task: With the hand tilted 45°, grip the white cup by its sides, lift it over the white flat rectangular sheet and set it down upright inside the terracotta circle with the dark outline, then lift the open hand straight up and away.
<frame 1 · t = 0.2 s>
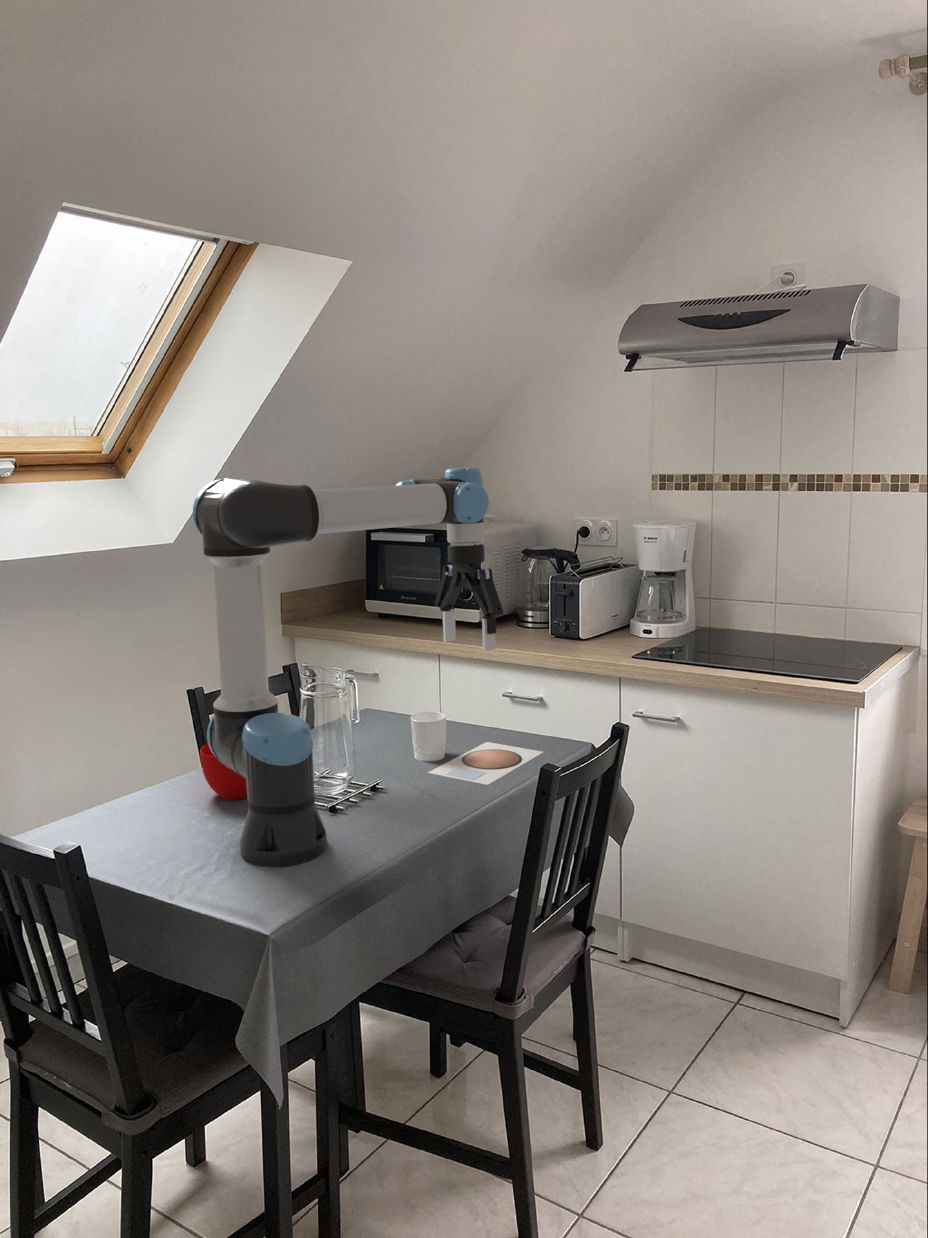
hand: (469, 645, 212), 28 cm above the table, tool pointing down, fingers open, 13 cm apart
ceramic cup: (244, 792, 209), on the table
white flat rectangular sheet: (487, 765, 222), on the table
white cup: (429, 760, 226), on the table
circle mark: (491, 759, 223), resting on white flat rectangular sheet
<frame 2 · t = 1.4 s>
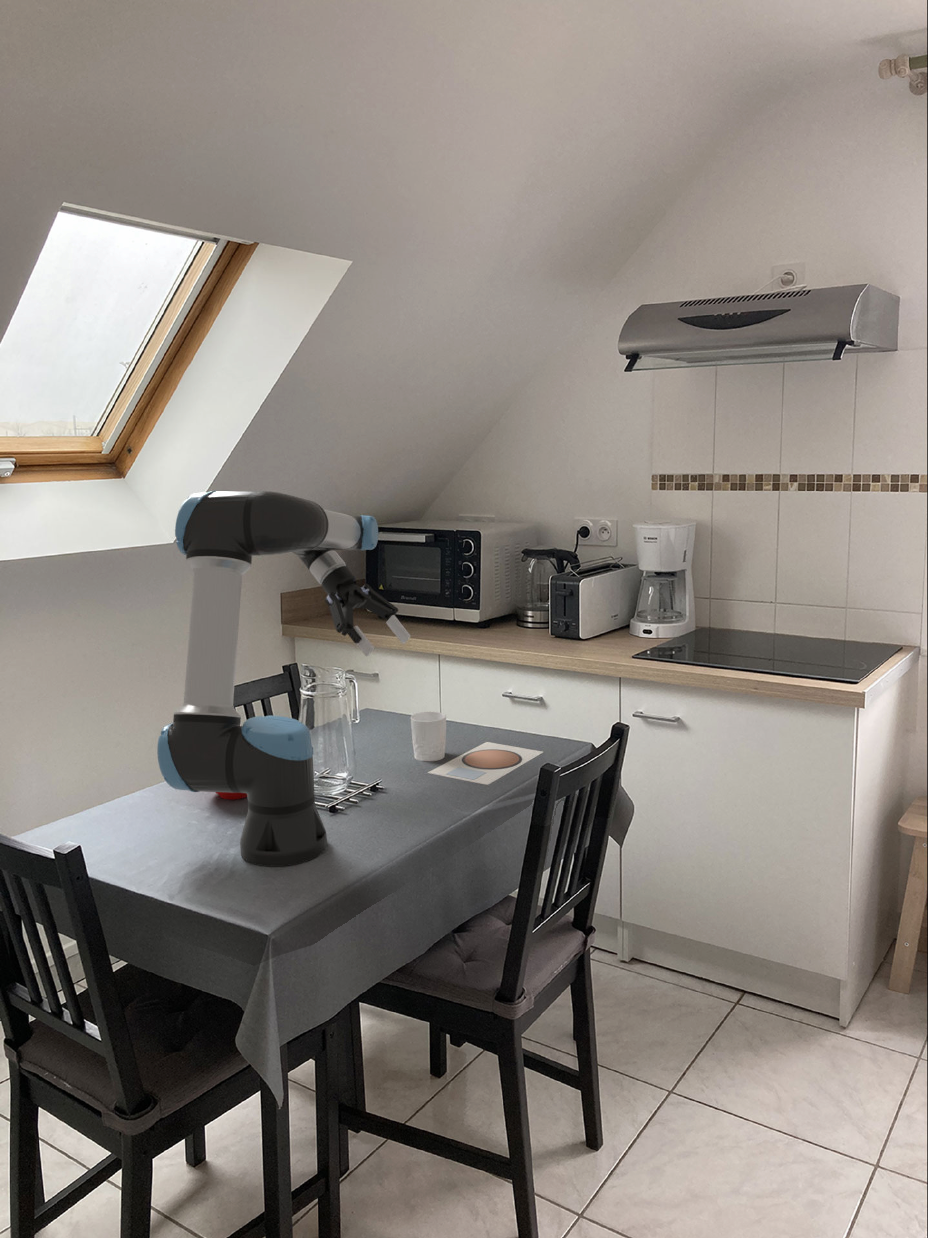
hand: (389, 646, 227), 25 cm above the table, tool tilted 45°, fingers open, 13 cm apart
nothing on the table moved.
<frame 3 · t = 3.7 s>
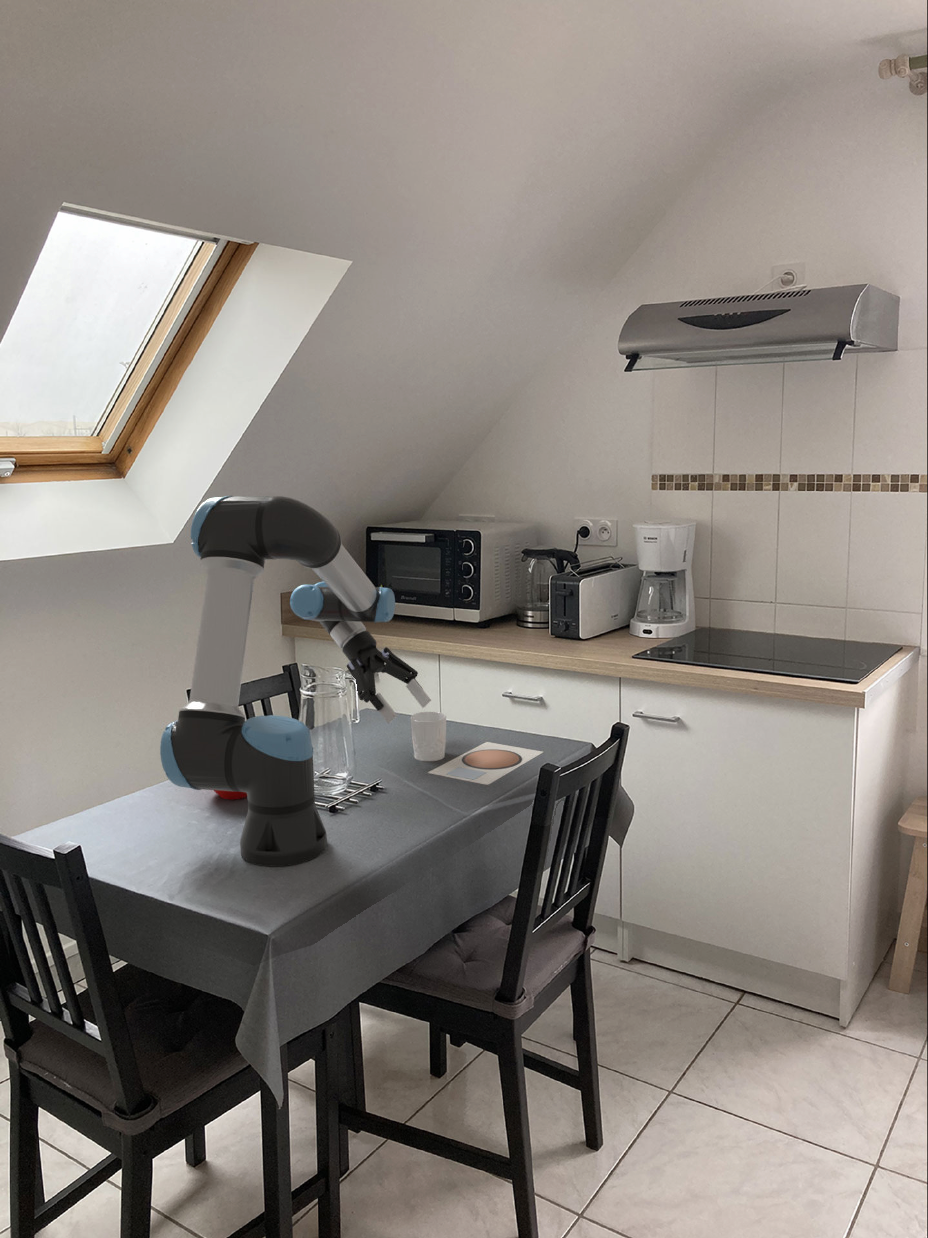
hand: (410, 711, 228), 10 cm above the table, tool tilted 45°, fingers open, 13 cm apart
nothing on the table moved.
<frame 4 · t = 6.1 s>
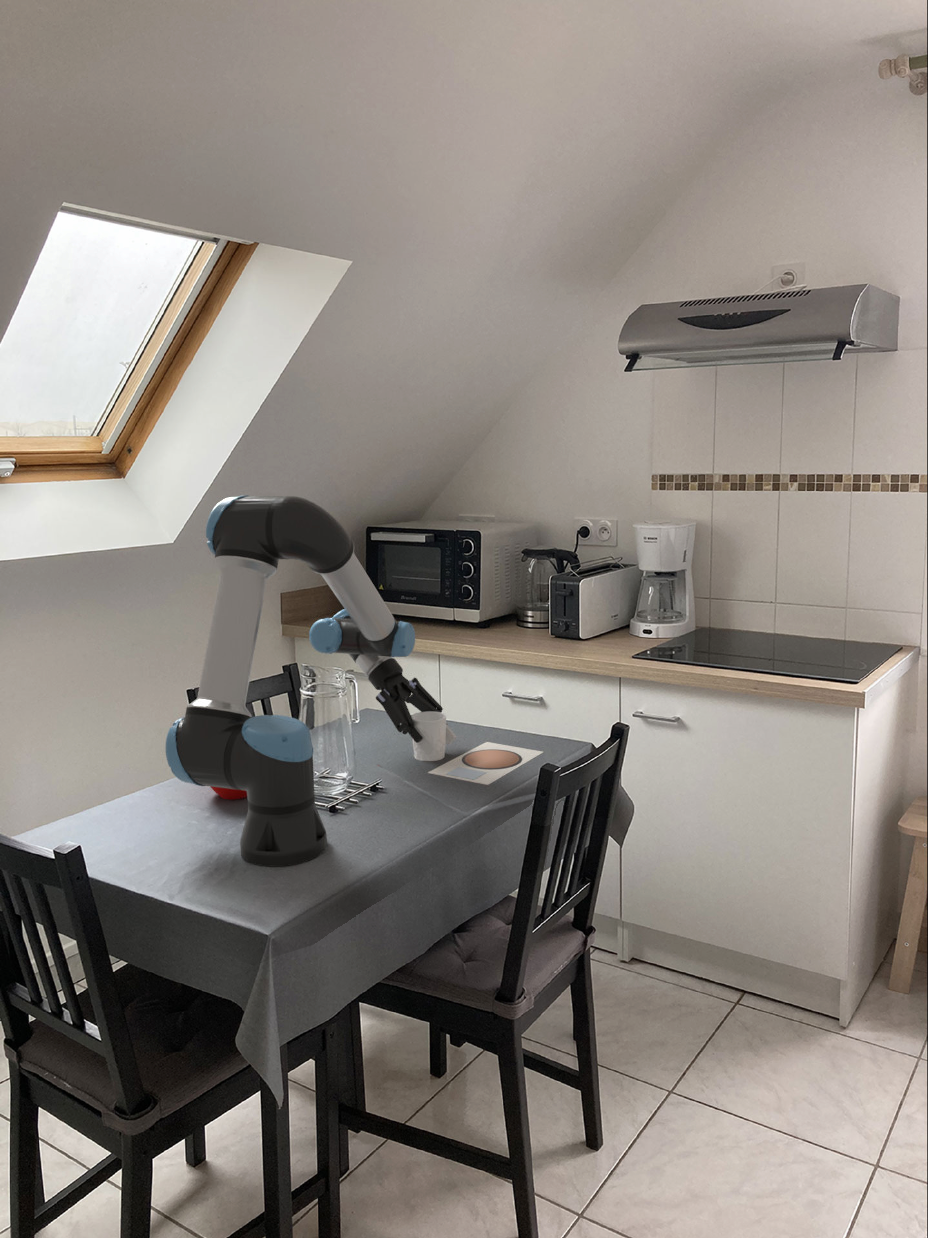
hand: (442, 746, 224), 4 cm above the table, tool tilted 45°, fingers closed on white cup, 8 cm apart
white cup: (429, 760, 226), on the table, touching gripper
everything else where it was.
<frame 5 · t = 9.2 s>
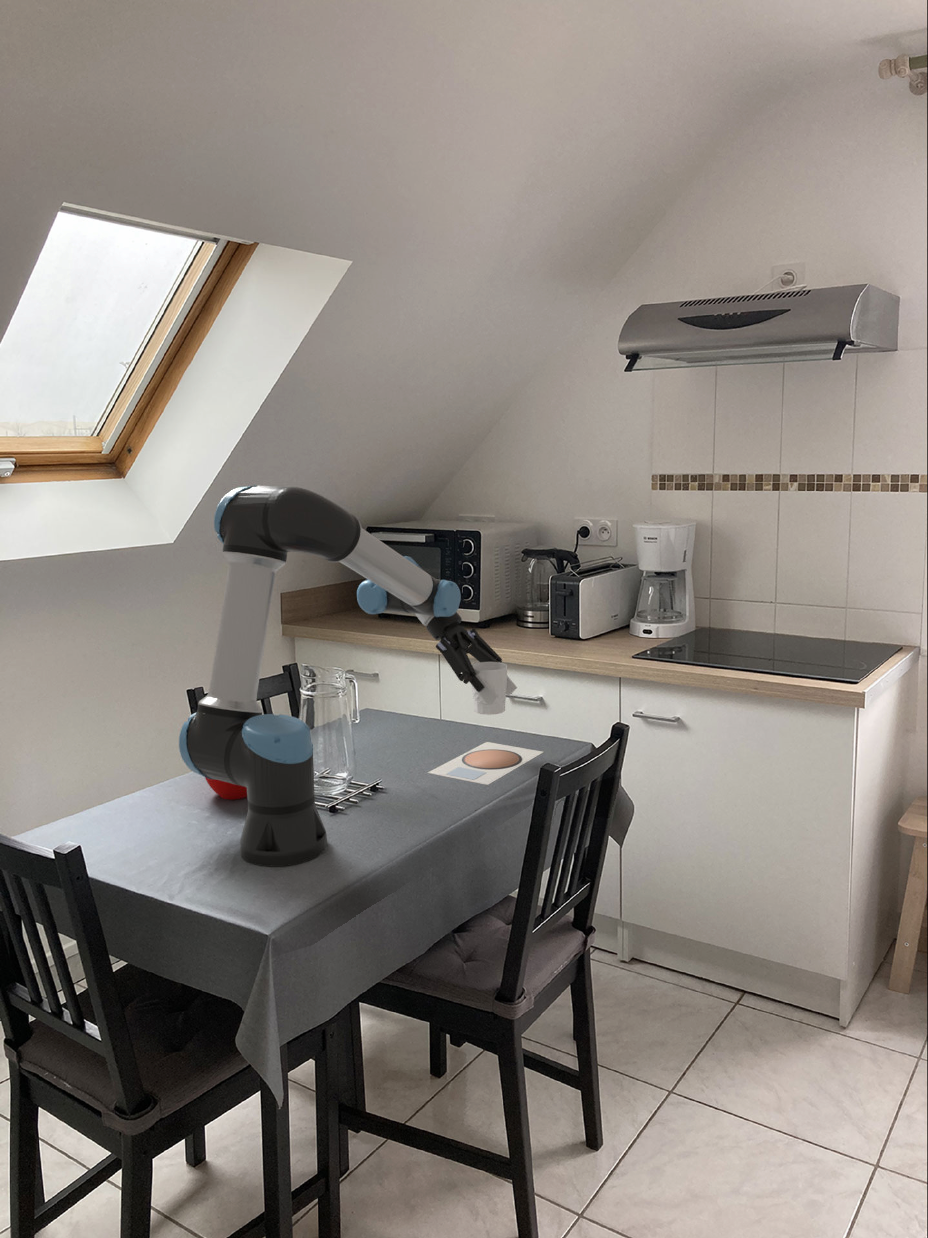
hand: (503, 696, 219), 15 cm above the table, tool tilted 45°, fingers closed on white cup, 8 cm apart
white cup: (489, 711, 221), point 12 cm above the table, touching gripper
everything else where it was.
when the fingers open (5 cm above the table, at t = 12.2 s): white cup stays where it is, resting on circle mark.
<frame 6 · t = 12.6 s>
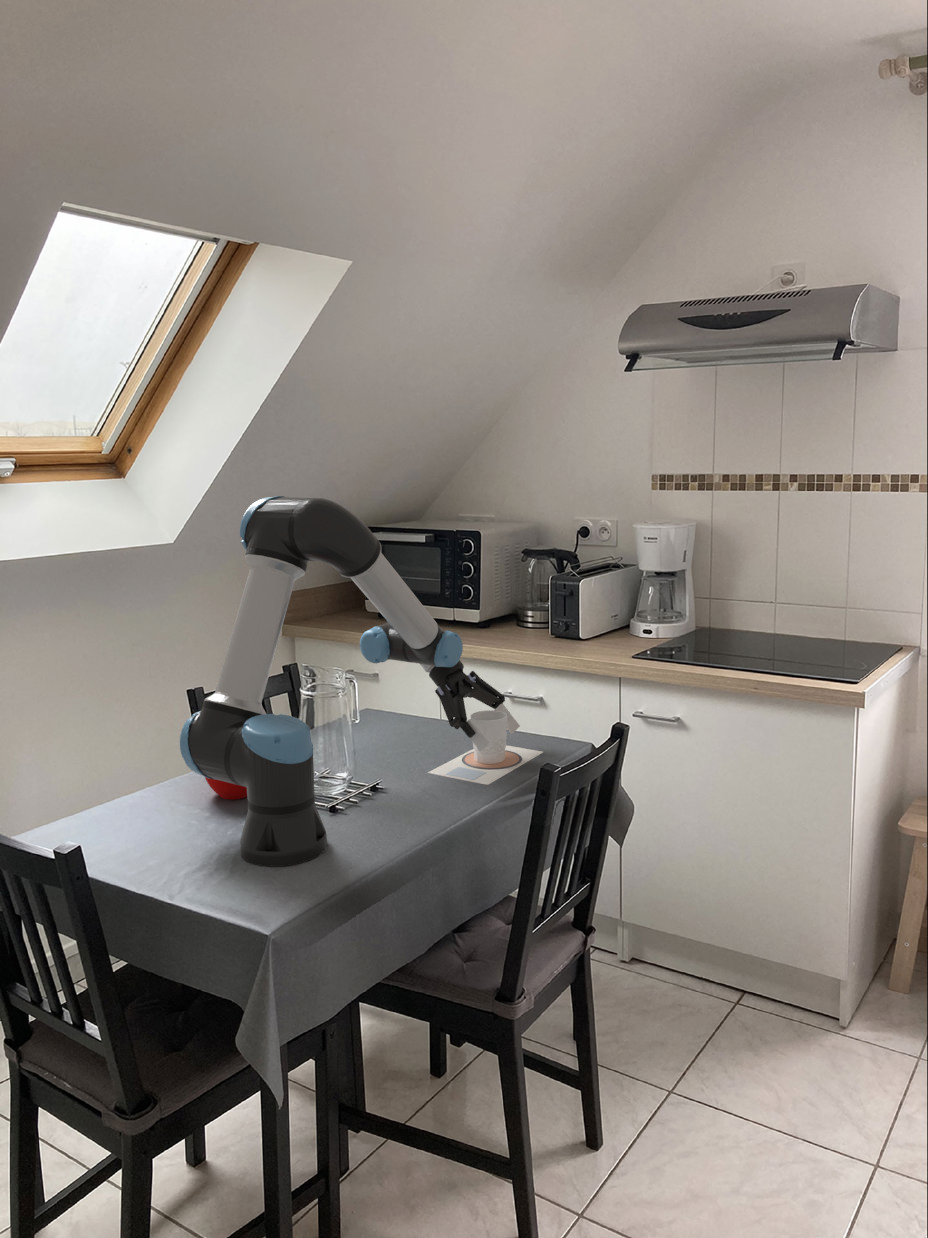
hand: (500, 738, 221), 6 cm above the table, tool tilted 45°, fingers open, 13 cm apart
white cup: (489, 760, 223), point 1 cm above the table, touching circle mark
everything else where it was.
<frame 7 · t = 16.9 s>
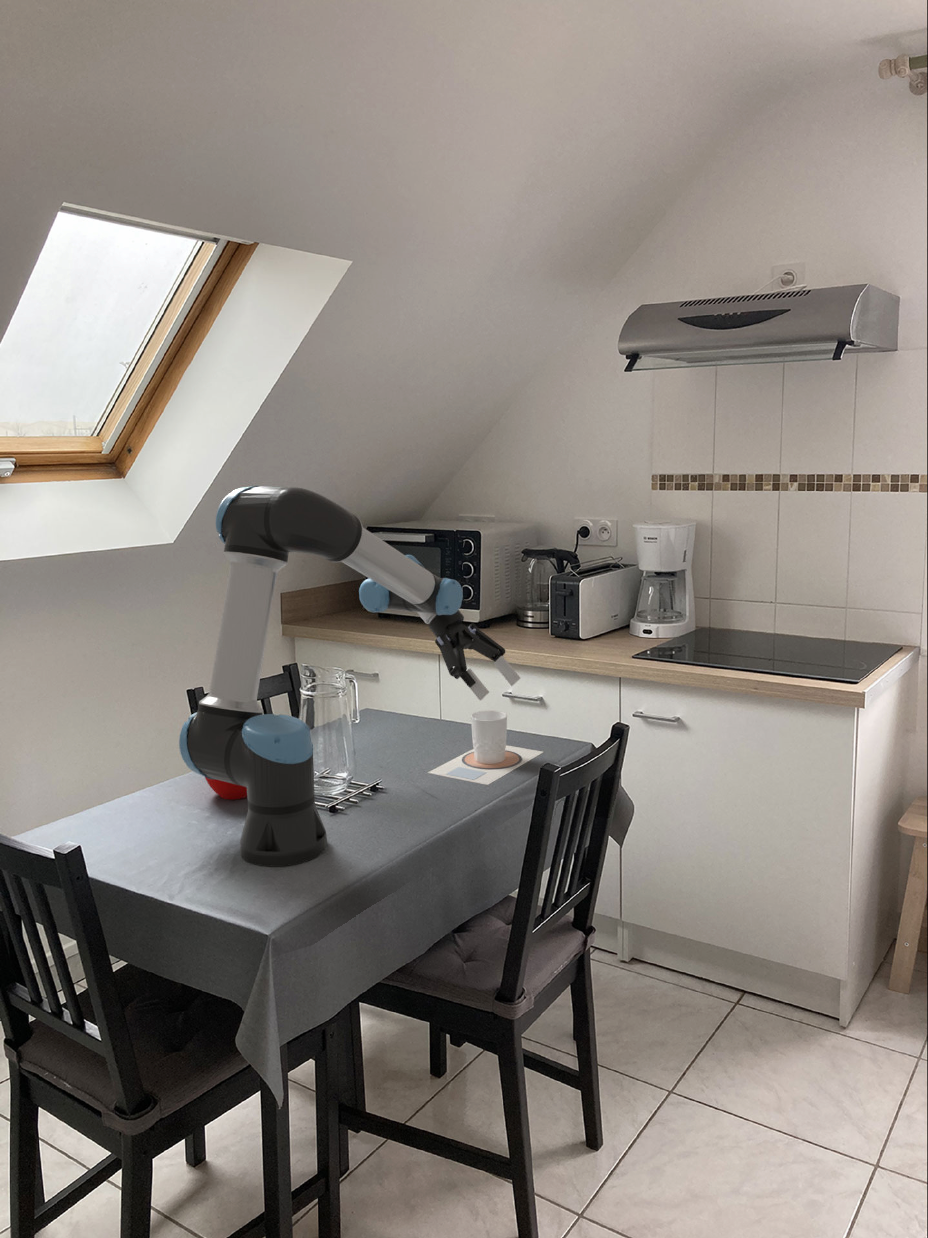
hand: (500, 689, 219), 17 cm above the table, tool tilted 45°, fingers open, 13 cm apart
nothing on the table moved.
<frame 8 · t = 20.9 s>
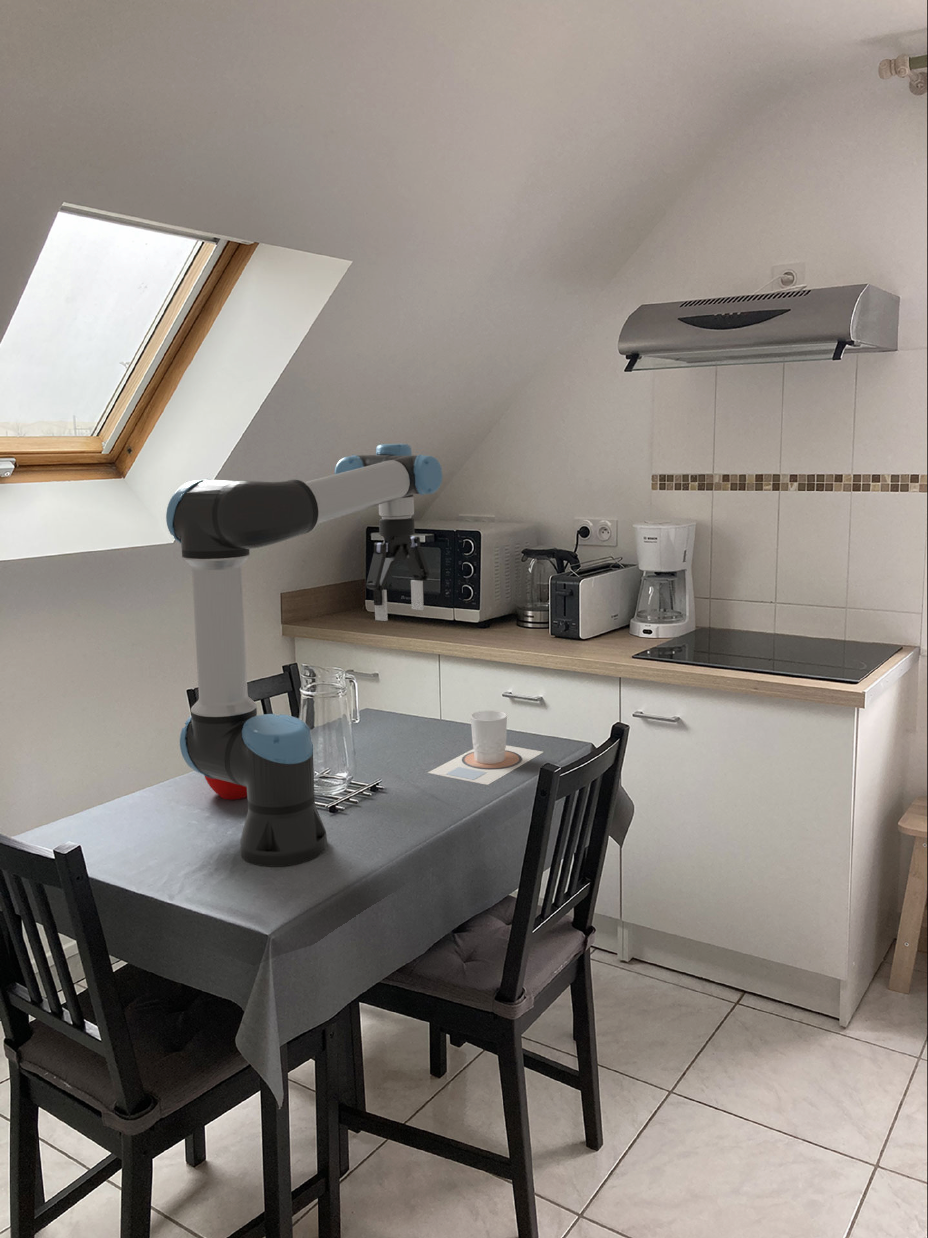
hand: (399, 614, 221), 33 cm above the table, tool pointing down, fingers open, 13 cm apart
nothing on the table moved.
at the end: white cup 0.6 cm from the circle mark (horizontally); white cup tilted 0°; white cup point 0.7 cm above the table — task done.
